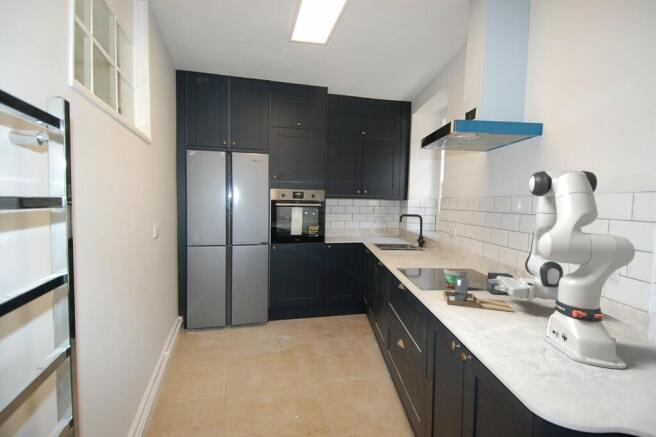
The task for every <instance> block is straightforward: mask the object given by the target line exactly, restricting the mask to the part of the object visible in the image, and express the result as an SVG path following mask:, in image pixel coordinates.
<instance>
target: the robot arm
mask: <svg viewBox="0 0 656 437" xmlns="http://www.w3.org/2000/svg"><path fill="white" fill-rule="evenodd" d="M597 187H598V179H597V176H596V174H595V173H594V172H592V171H586V170H581V171H578V170H561V169H559V170H558V169H557V170H549V171H547V170H546V171H544V170H541V171H537V172H534V173H533V174H532V175H531V176H530V179H529V181H528V188H529V192H530V194H532V195H533V196H537V197H538V199H537V204H536V210H535V211H536V212H535V223H534V230H533V234H532V240H531V245H530V252H529V254H528V257H527V258H526V260H525V263H524V268H525V270H526V271H527V273H528V274H530V275H531V276H534V278H533V277H520V276H519V278H518V279H516V278H514V277H513V278H511V277H504V276H497V279H489V281H488V282H489V283H491V284H493V283H496V284H499V285H500V286H499V285H495V289H496V290H500V291H504V292H507V293H508V294H509V295H508V296H510V297H514V298H517V299H518V298H519V299H525V300H528V301H534V299H536V298H537V299H543V300H551V301H554V312H553V313H552V314H551V315H550V316H549V320H548V323H547V324H548V325H547V331H546V333H543V334H542V337H541V338H542V339H544V340H545V341H546V342H548V343H549V344H550V345H552V346H553V347H555V348H557V349H558V350H559V351H560V352H562V354H564V355H566V356H567V357H569V358H570V359H572V360H574V361H576V362H579V363H583V364H587V365H590V366H595V367H601V368H608V369H609V368H611V369H626V368H627V364H626V362H624V361H623V360H622V358H620V356H618V354H617V349H616V348H617V347H616V345H617V344H618V343H617V339H616V337H614V336H611V334H610V333H609V331H608V329H607V328H606V326H605V324H604V323H603V319H604V318H603V317H604V316H605V315H604V314H603V312H602V308H601V306H600V305H601V304H600V303H601V299H602V292H603V287H604V286H605V283H606V281H607V280H608V279H609V278H610V276H612V275H613V274H614V273H615V272H616V271H617V270H619V269H622V268H623V267H625V266H628V265H630V263H631V262H632V261H633V260H634V258H635V256H636V249H635V246H634V244H633V243H632V242H631V241H630V240H629V239H628V238H627V237H622V236H619V235H614V234H606V233H592V232H583V231H582V228H583V227H585V226H588V225H591V224H593V223H594V222H595V221H596V219H597V218H598V216H599V212H598V207H597V203H596V202H597V201H596V199H595V191H596V189H597ZM559 263H561V264H573V265H574V264H575V265H579V267H578V268H576V270H574V271H573V272H570V273H567V274H564V270H563V269H564V268H563V267H562V265H560V264H559Z"/></svg>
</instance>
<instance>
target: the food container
mask: <svg viewBox="0 0 656 437" xmlns="http://www.w3.org/2000/svg"><path fill="white" fill-rule="evenodd" d="M443 273H444V283H445V287H446V288H448V289H451V290H455V285H456V278H458V277H460V278H466V279H467V277H466V276H468V271H467V270H466V271H460V270H456V269H455V270H451V269H450V270H448V269H446V268H444V269H443Z"/></svg>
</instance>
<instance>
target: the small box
mask: <svg viewBox="0 0 656 437" xmlns="http://www.w3.org/2000/svg"><path fill="white" fill-rule="evenodd" d="M497 276H504V277H511V278H514V275H512V274H509V273H507V272H504V273H503V272H487V279H486V280H487V281H486V282H487V283H486V291H487V293H489V294H490V295H497V296H498V295H500V296H510V295H509V294H508V293H507V292H504V291H500V290H496V289H495V285H499V284H496V283H493V284H491V283H489V282H488V281H489V279H497ZM499 286H500V285H499Z"/></svg>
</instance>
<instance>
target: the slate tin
mask: <svg viewBox="0 0 656 437" xmlns="http://www.w3.org/2000/svg"><path fill="white" fill-rule="evenodd" d="M468 290H469V279H468V278H467V277H466V278H460V277H458V278H456V285H455V289H454V292H455V296H454V299H453V300H455V301H464V302H468V298H467V294H468V293H469V292H468Z"/></svg>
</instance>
